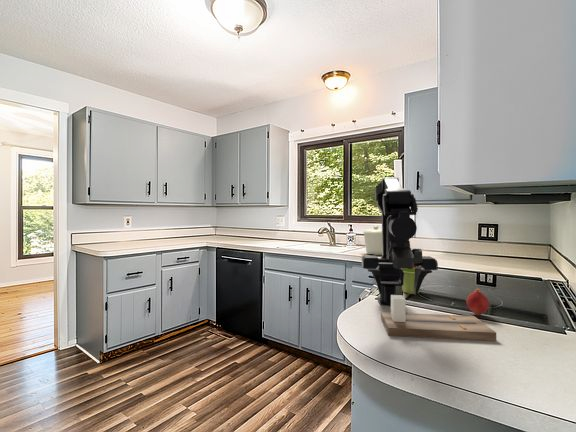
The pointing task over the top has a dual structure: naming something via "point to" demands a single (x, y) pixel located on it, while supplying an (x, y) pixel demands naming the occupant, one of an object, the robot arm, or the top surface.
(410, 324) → the fader console
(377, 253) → the canister
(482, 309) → the onion
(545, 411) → the top surface
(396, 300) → the fader knob
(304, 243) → the top surface
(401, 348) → the top surface
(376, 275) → the robot arm
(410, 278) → the plant pot
